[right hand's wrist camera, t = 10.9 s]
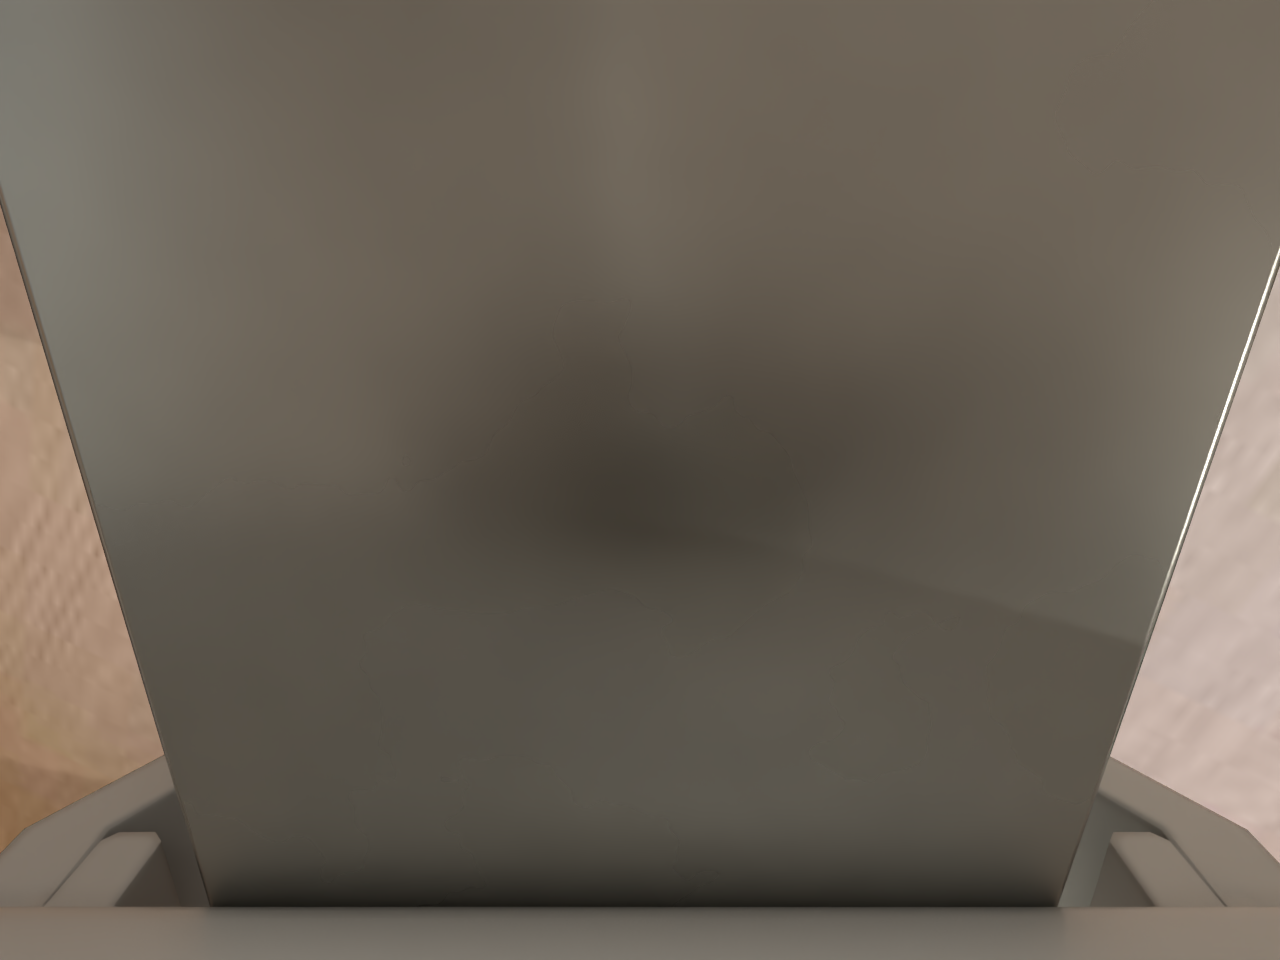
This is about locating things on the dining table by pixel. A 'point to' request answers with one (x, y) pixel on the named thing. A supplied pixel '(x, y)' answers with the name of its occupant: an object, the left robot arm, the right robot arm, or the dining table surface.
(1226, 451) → the dining table surface
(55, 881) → the right robot arm
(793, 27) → the box
